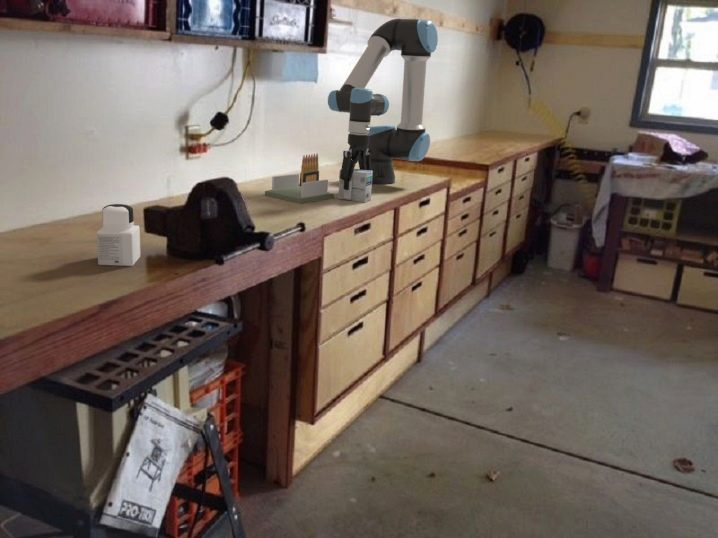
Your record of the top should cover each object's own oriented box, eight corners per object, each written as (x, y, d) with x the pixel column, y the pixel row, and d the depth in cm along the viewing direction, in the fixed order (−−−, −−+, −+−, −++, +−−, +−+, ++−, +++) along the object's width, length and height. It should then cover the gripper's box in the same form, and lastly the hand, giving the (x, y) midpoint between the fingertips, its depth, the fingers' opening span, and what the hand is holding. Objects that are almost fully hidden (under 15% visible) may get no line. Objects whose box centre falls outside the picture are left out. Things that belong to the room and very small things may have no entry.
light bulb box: (371, 199, 245) (373, 170, 242) (365, 202, 239) (367, 172, 236) (343, 196, 248) (345, 166, 245) (337, 199, 242) (339, 169, 239)
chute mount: (299, 189, 254) (299, 172, 252) (333, 197, 244) (334, 179, 242) (264, 195, 240) (265, 176, 238) (300, 203, 230) (300, 184, 228)
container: (107, 255, 159) (104, 201, 155) (140, 256, 159) (139, 203, 155) (97, 265, 151) (95, 208, 147) (133, 266, 152) (131, 210, 148)
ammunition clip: (303, 186, 261) (304, 155, 258) (299, 185, 262) (300, 154, 259) (318, 183, 270) (320, 153, 266) (315, 182, 271) (316, 152, 267)
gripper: (348, 136, 226) (344, 202, 233) (384, 133, 242) (379, 195, 249) (331, 133, 231) (328, 198, 237) (368, 131, 247) (363, 192, 253)
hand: (354, 197), depth 243 cm, fingers closed on light bulb box, 8 cm apart
